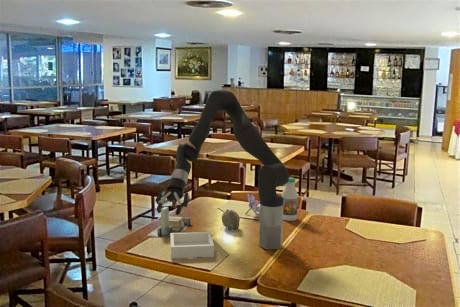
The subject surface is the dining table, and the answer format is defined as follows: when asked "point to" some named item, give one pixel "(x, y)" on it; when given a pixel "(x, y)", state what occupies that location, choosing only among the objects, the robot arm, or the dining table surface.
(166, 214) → the pale green block
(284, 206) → the milk bottle
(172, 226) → the offcut bottom
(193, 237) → the tray
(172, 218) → the offcut top
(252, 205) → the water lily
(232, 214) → the grey rounded lump
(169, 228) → the rack
